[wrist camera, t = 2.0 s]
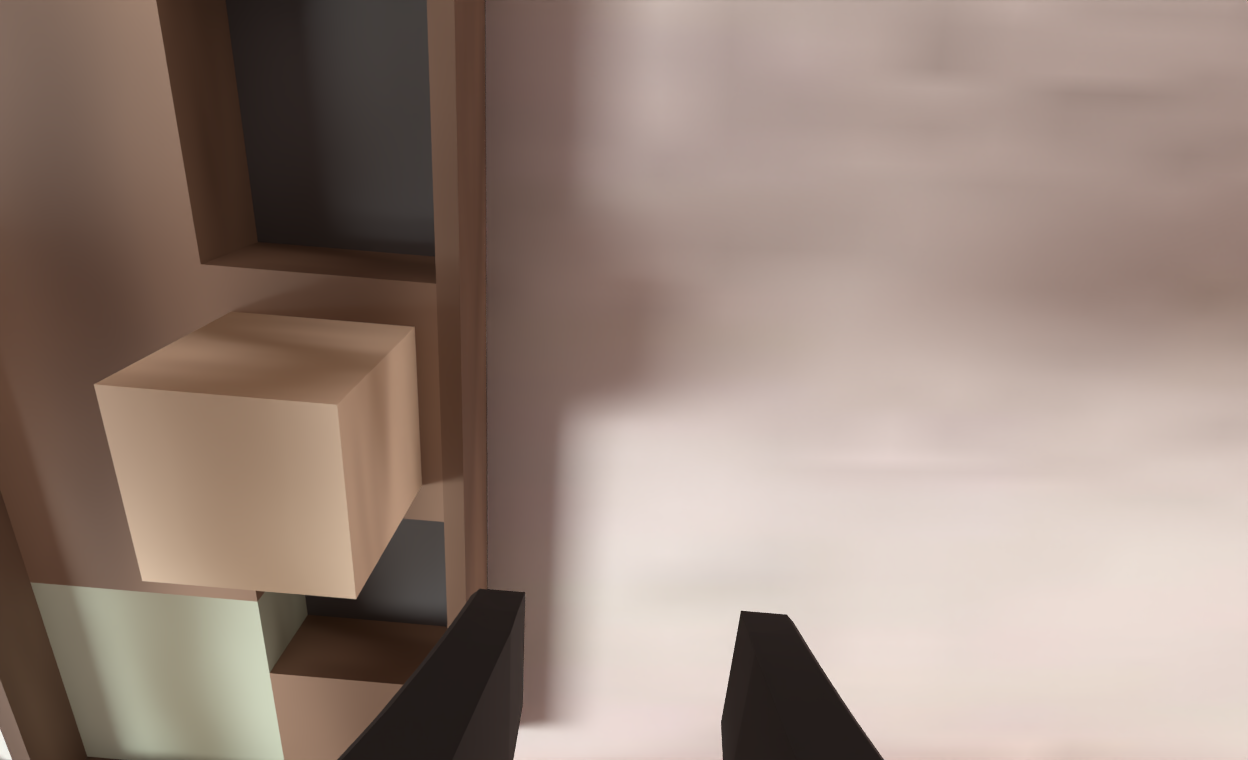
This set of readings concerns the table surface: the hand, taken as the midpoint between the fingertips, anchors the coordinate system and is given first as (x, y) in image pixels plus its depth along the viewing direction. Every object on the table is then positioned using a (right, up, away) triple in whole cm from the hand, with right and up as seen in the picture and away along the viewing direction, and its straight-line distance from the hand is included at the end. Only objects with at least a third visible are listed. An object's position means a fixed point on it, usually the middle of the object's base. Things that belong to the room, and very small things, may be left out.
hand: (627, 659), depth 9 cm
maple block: (-7, +3, +6) cm, 10 cm away
